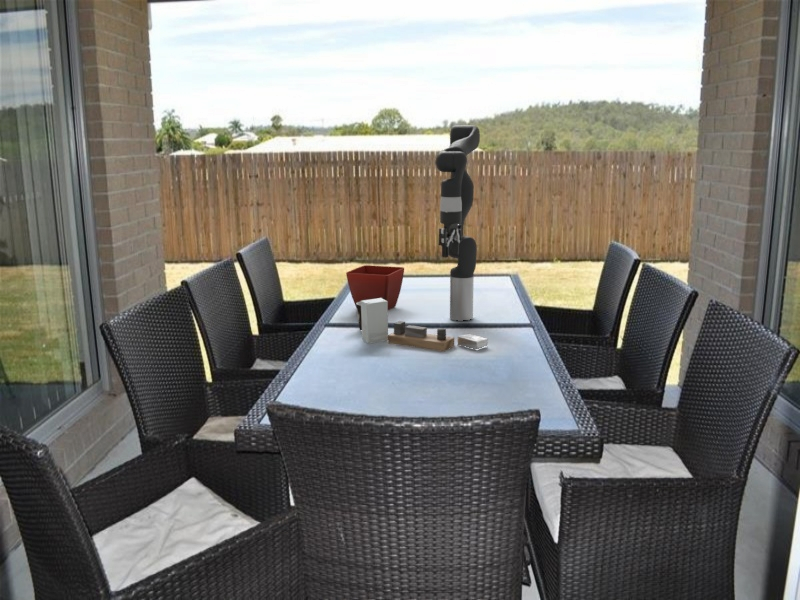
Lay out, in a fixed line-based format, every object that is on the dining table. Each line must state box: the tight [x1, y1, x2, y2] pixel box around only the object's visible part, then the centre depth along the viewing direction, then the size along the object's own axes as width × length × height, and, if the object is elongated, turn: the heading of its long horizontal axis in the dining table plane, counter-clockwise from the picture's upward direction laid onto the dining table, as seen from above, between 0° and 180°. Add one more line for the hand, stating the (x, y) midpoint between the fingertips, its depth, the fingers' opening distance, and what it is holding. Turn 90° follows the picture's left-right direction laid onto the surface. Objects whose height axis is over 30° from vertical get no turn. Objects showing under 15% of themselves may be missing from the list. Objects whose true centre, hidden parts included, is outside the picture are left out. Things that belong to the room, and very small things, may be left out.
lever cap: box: [457, 333, 489, 349], centre depth 259 cm, size 6×9×4 cm, turn 42°
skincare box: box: [361, 298, 389, 344], centre depth 266 cm, size 8×6×15 cm
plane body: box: [387, 320, 455, 352], centre depth 261 cm, size 8×22×7 cm, turn 61°
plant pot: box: [345, 264, 405, 311], centre depth 314 cm, size 19×19×17 cm
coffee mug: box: [355, 302, 362, 331], centre depth 284 cm, size 12×9×10 cm
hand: (450, 255), depth 264 cm, fingers open, 8 cm apart
